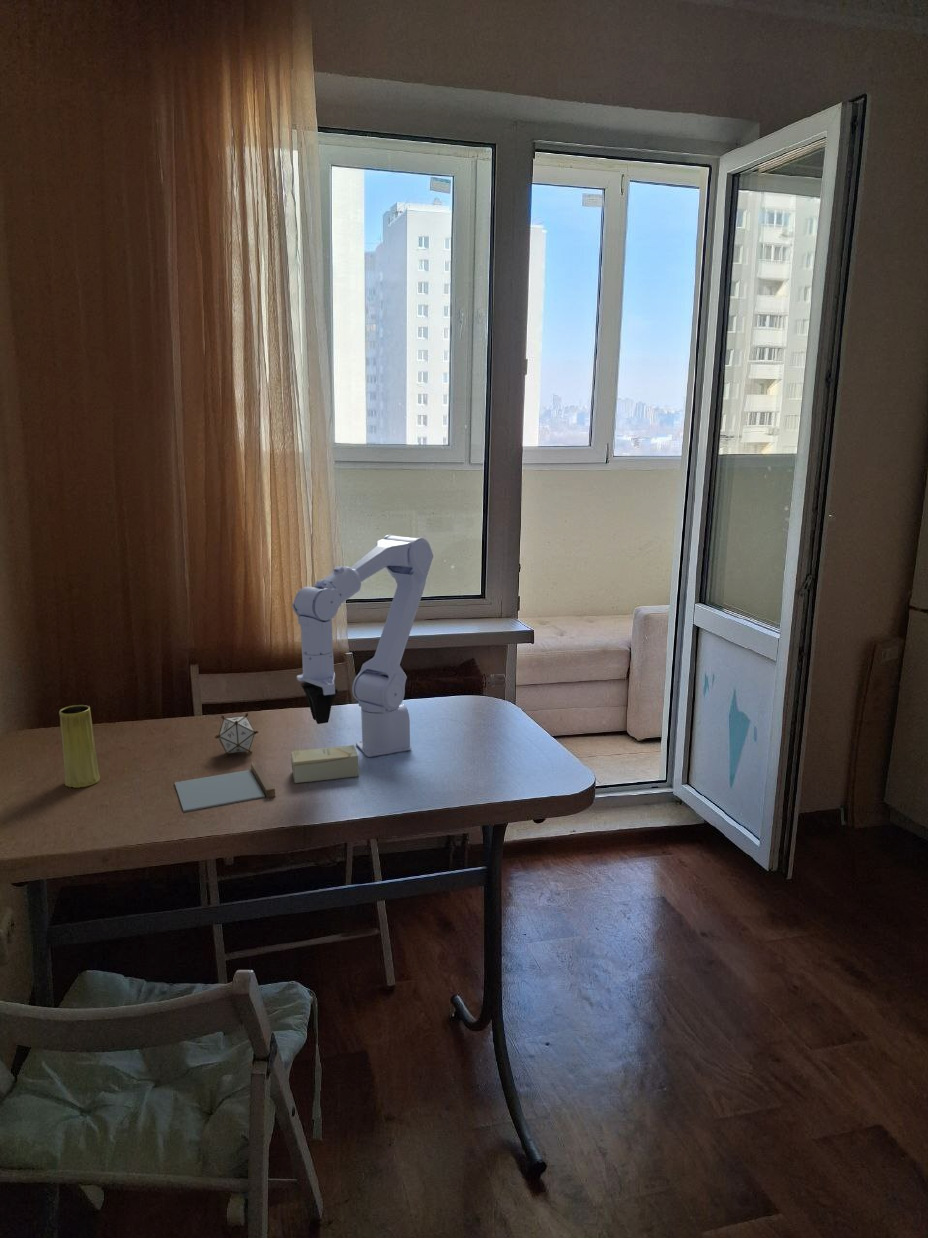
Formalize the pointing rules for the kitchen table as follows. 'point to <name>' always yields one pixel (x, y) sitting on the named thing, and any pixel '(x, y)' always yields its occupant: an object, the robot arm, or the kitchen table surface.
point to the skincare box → (324, 764)
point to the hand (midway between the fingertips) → (320, 720)
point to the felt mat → (218, 790)
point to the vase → (78, 746)
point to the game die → (236, 734)
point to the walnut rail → (263, 779)
